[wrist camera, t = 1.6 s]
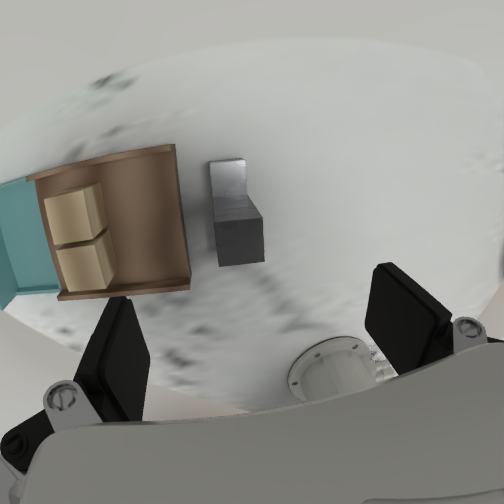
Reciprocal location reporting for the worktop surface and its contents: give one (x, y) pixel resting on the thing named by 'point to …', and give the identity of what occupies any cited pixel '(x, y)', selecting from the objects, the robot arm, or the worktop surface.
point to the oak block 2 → (88, 263)
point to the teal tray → (23, 244)
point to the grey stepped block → (235, 215)
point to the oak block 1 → (76, 214)
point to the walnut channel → (129, 219)
